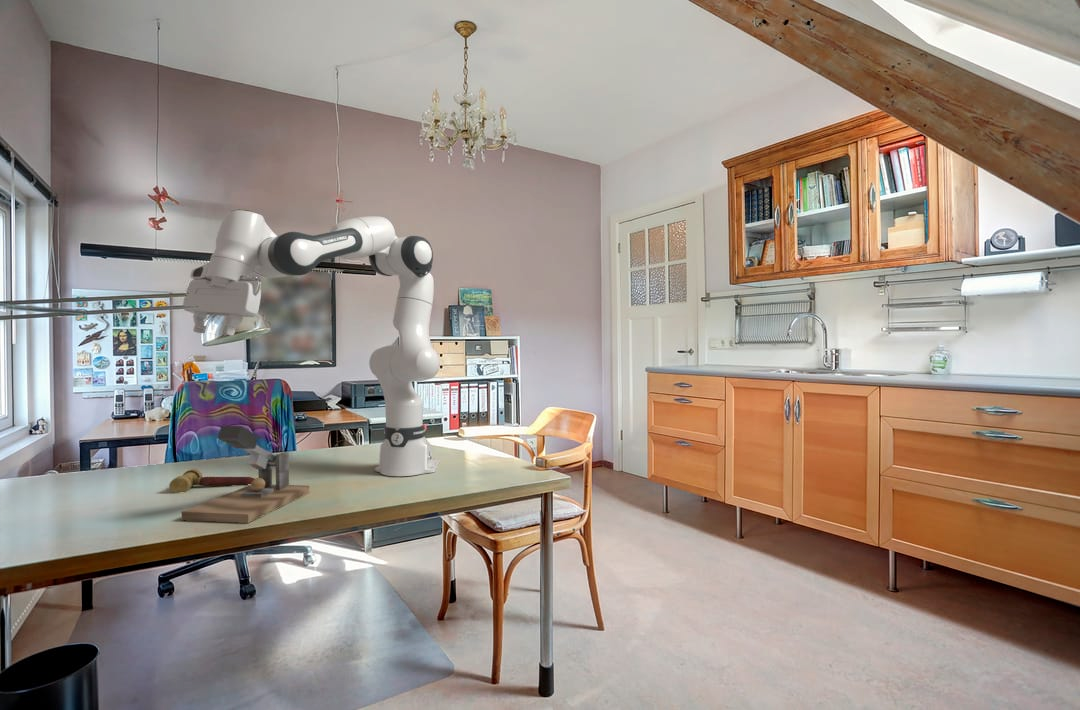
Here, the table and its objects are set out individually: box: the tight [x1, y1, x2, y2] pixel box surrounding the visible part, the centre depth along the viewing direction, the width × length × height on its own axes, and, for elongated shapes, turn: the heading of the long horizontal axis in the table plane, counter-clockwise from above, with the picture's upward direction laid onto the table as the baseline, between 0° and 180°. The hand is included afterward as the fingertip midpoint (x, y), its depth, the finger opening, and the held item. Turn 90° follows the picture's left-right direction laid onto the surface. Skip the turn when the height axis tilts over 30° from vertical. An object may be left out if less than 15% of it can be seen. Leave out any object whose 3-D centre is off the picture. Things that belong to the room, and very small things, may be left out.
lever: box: [217, 425, 277, 470], centre depth 129 cm, size 20×5×6 cm, turn 173°
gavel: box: [168, 468, 256, 494], centre depth 147 cm, size 21×5×10 cm
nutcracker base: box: [181, 451, 310, 524], centre depth 128 cm, size 24×16×11 cm, turn 173°
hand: (213, 333), depth 119 cm, fingers open, 8 cm apart
